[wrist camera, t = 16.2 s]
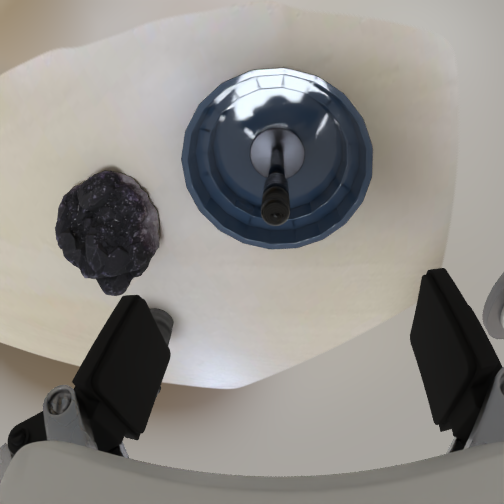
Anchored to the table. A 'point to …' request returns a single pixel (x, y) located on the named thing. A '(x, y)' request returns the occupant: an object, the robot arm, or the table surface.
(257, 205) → the bowl
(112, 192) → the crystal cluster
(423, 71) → the table surface
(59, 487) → the robot arm
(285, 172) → the disc-capped black rod
